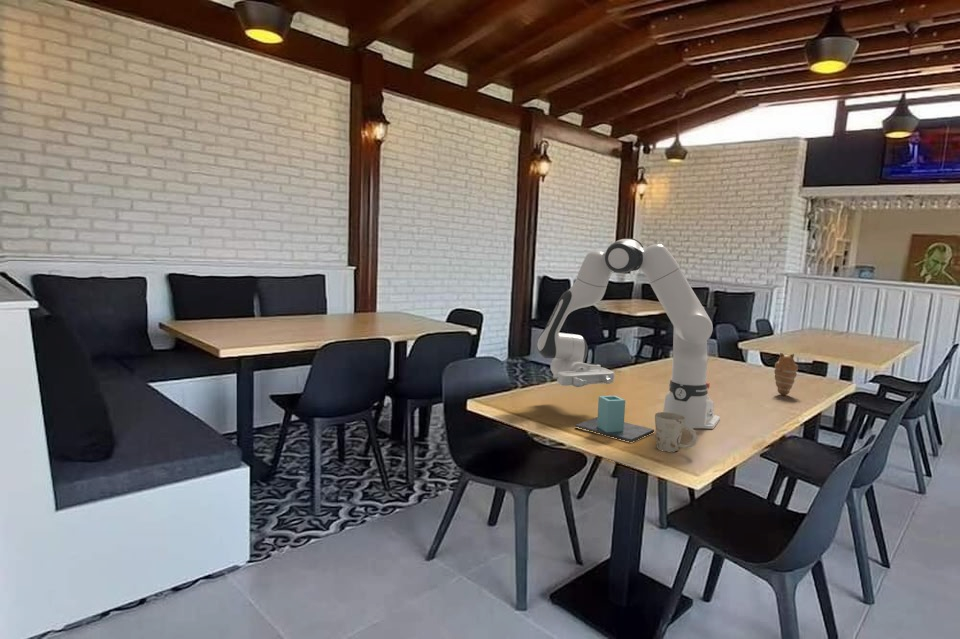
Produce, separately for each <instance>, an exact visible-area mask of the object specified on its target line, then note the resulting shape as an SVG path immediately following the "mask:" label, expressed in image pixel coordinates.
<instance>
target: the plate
mask: <svg viewBox="0 0 960 639" xmlns="http://www.w3.org/2000/svg"><path fill="white" fill-rule="evenodd" d="M597 419H598V416H597V417H593V418H591V419H588V420H584V421H582V422H579V423H576V424H575V425H574V427H579V428H582V429H586V430H589V431H593V432H596V433H600V434H603V435H606V436H610V437H614V438H617V439H621V440H625V441H629V442H633V441H635V442H637V441H636V440H638V439H640V438H642V437H644V436H646V437H648V436H647V435H649V434H651V433H653V432H654V433H655V429H654V428H649V427H645V426H641V425H637V424H633V423H629V422H626V421H624V431H619V432H605V431H603V430H602V429H600V428H598V427H597ZM654 433H653V434H654ZM651 435H652V434H651ZM606 436H605V437H606ZM649 436H650V435H649ZM610 437H609V438H610ZM644 438H645V437H644ZM617 439H616V440H617ZM642 439H643V438H642ZM621 440H620V441H621ZM640 440H641V439H640ZM625 441H624V442H625ZM638 441H639V440H638ZM633 443H634V442H633Z"/></svg>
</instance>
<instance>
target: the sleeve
mask: <svg viewBox="0 0 960 639" xmlns="http://www.w3.org/2000/svg"><path fill="white" fill-rule="evenodd" d="M625 411H626V399H623V397H619V396H617V395H600V396H598V407H597V417H598V419H597V427H598V428H600V429H602V430H603V431H605V432H619V431H624V422H625V415H626V414H625Z"/></svg>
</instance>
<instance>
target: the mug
mask: <svg viewBox="0 0 960 639" xmlns="http://www.w3.org/2000/svg"><path fill="white" fill-rule="evenodd" d="M684 421H685V417H684V416H682V415H680V414H676V413H670V412H663V411H659V412H656V413H655V414H654V423H655V438H656V439H655V440H656V441H655V442H656V448H658V450H659V449H660V450H659V451H661V450H663V451H662V452H665V451H669V452H668V453H676V452H675V451H677V452H678V451H679V449H680V448H681V449H691V448H692V447H694V446H695V445H696V444H697V441H698V435H697V432H696V430H694V429H695V428H692V427H690V426H687V425H684ZM683 430H687V431H689V432H690V434H691V435H692V436H691V437H692V439H691V442H690V443H688V444H687V445H686V444H682V443H681V438H682V434H683Z"/></svg>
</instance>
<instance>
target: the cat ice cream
mask: <svg viewBox="0 0 960 639" xmlns="http://www.w3.org/2000/svg"><path fill="white" fill-rule="evenodd" d="M794 357H795V354H794V353H792V354H783V353H782V352H780V353H779V358H778V361H776V362H775V364H774V380H775V386H776V387H777V392H778V394H779V395H782V396H787V395H789V394H790V393H791V390H792V388H793V385H794V384H795V378H796V377H797V371H798V370H799V365H798V364H797V363H796V362H795V359H794Z"/></svg>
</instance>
